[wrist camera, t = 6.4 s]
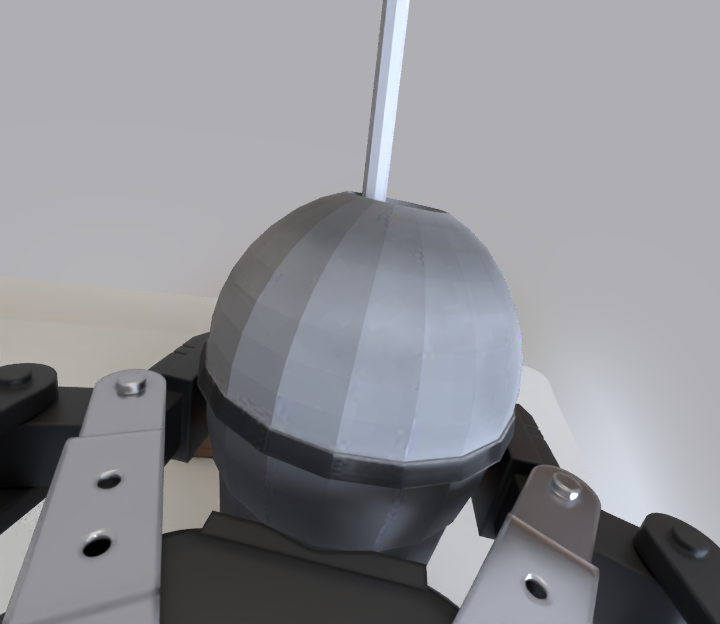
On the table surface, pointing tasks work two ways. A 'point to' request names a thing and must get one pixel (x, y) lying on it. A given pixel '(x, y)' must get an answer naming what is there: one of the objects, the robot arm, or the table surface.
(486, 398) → the beverage cup
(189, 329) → the table surface
